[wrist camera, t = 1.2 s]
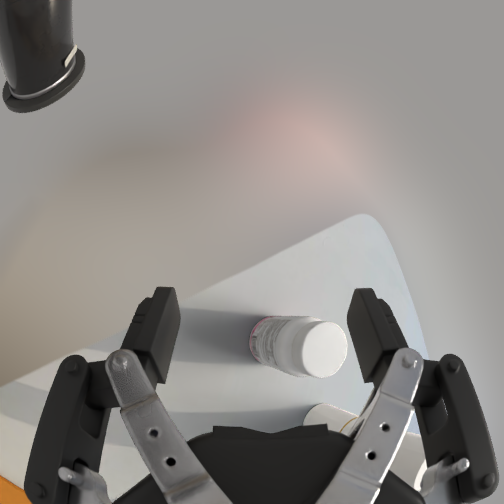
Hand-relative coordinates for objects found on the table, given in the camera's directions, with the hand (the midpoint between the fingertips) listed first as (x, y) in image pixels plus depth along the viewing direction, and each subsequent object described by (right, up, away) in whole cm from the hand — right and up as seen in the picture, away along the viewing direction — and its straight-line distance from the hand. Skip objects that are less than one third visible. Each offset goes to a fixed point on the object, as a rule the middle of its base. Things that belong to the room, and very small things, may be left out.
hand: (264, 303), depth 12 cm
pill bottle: (+1, -6, +13) cm, 15 cm away
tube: (+7, -16, +13) cm, 22 cm away
